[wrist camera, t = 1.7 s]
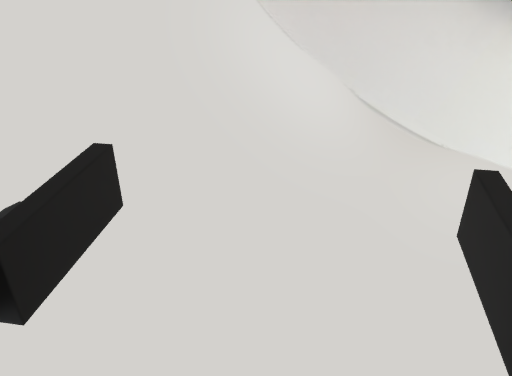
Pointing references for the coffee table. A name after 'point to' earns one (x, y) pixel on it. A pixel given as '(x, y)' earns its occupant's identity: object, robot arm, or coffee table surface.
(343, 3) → the coffee table surface
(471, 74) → the coffee table surface
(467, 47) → the coffee table surface
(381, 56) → the coffee table surface
